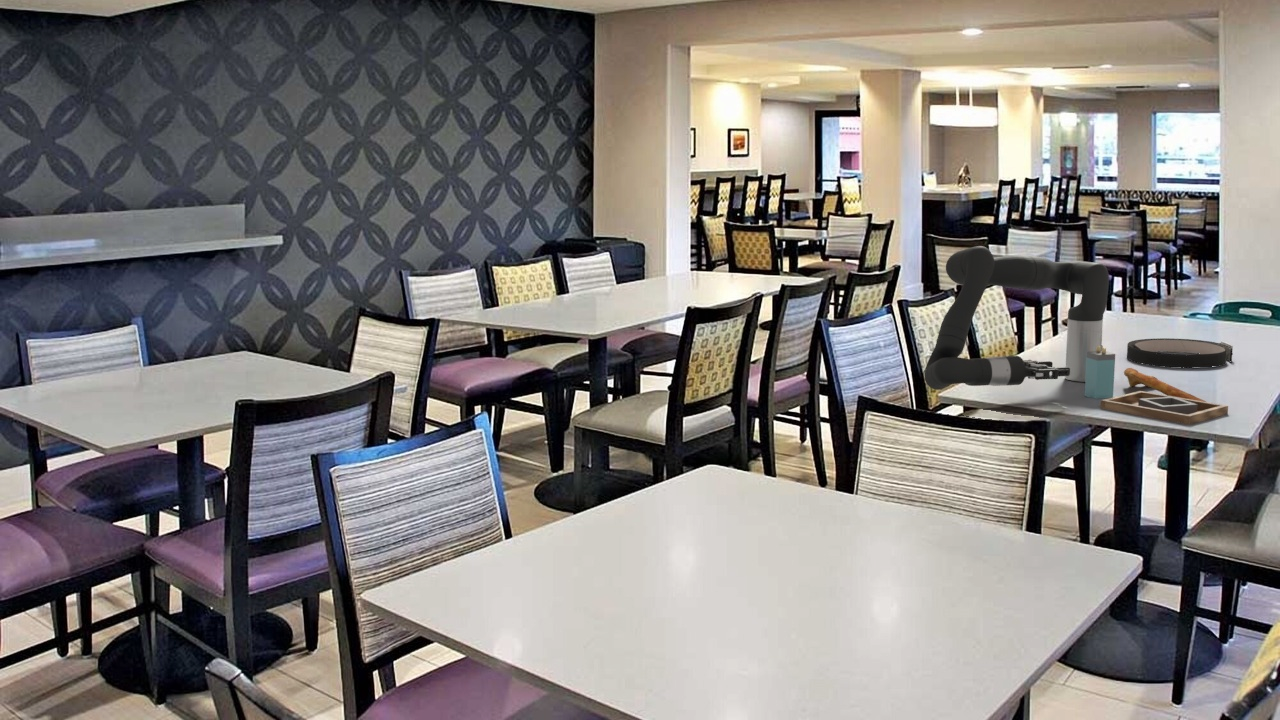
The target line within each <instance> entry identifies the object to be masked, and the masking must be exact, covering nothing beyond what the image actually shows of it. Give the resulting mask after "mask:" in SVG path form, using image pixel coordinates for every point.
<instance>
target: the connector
mask: <svg viewBox="0 0 1280 720" xmlns="http://www.w3.org/2000/svg"><path fill="white" fill-rule="evenodd" d="M1115 365H1116V353H1112V352H1109V351H1107V347H1103V348H1102V351H1101V346H1097V351H1093V352H1087V361H1086V381H1085V383H1084V384H1085V385H1084V386H1085V388H1084V397H1085V396H1087V397H1086V398H1092V399H1095V400H1096V399H1108V398H1113V397H1114V388H1115V387H1114V386H1115V371H1116V370H1115V367H1116V366H1115Z"/></svg>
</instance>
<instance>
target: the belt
mask: <svg viewBox="0 0 1280 720" xmlns="http://www.w3.org/2000/svg"><path fill="white" fill-rule="evenodd" d="M1126 345H1127V348H1126V349H1127V350H1126V358H1127V359H1128V360H1129V359H1130V360H1129V361H1131V360H1132V361H1131V362H1134V361H1135V363H1137V362H1138V364H1141V363H1143V364H1142V365H1146V364H1149V365H1148V366H1152V365H1155V366H1154V367H1160V366H1165V367H1164V368H1171V367H1181V368H1180V369H1193V368H1192V367H1212V366H1219V365H1223V364H1225V363H1226V362H1227V361H1228V360H1229V361H1232V360H1233V355H1234V353H1233V349H1234V348H1233V346H1234V345H1232V344H1230V343H1229V342H1225V341H1220V342H1214V341H1209V340H1201V339H1200V340H1199V339H1189V338H1145V339H1136V340H1131V341H1129V342H1128V343H1127V344H1126ZM1157 351H1168V352H1157ZM1180 352H1186V353H1180ZM1192 353H1200V354H1192ZM1226 359H1228V360H1226ZM1229 361H1228V362H1229ZM1225 365H1226V364H1225ZM1223 366H1224V365H1223ZM1183 367H1184V368H1183ZM1219 367H1220V366H1219ZM1212 368H1213V367H1212Z"/></svg>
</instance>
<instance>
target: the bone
mask: <svg viewBox="0 0 1280 720" xmlns="http://www.w3.org/2000/svg"><path fill="white" fill-rule="evenodd" d="M1123 373H1124V374H1123V375H1124V376H1125V377H1127V381H1128V383H1129V387H1130V386H1131V387H1130V388H1133V387H1132V386H1134V387H1135V386H1138V385H1144V386H1145V387H1147V386H1148V387H1147V388H1152V389H1154V390H1156V391H1158V392H1160V393H1161V394H1162V395H1167V396H1173V397H1179V398H1185V399H1191V400H1197V401H1203V402H1207V401H1206V400H1204V399H1202V398H1200V397H1197V396H1195V395H1193V394H1191V393H1188V392H1186V391H1183V390H1181V389H1179V388H1177V387H1175V386H1172V385H1170V384H1169V383H1166V382H1164V381H1162V380H1160V379H1159V378H1157V377H1155V376H1153V375H1147V374H1144V373H1142V372H1139V371H1138V370H1136V369H1134V368H1132V367H1127V368H1126V369H1124V371H1123Z"/></svg>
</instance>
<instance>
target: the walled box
mask: <svg viewBox="0 0 1280 720" xmlns="http://www.w3.org/2000/svg"><path fill="white" fill-rule="evenodd" d="M1158 397H1173V396H1167V395H1165V394H1162V393H1161V394H1160V393H1155V392H1148V391H1143V390H1137V391H1134V392H1129V393H1127V394H1126V393H1125V394H1122V395H1117V396H1113V398H1103V399H1101V400H1100V409H1102V410H1107V411H1114V412H1118V413H1123V414H1130V415H1135V416H1139V417H1140V416H1141V417H1146V418H1150V419H1156V420H1162V421H1166V422H1173V423H1178V424H1183V425H1188V426H1190V425H1193V424H1197V423H1201V422H1204V421H1207V420H1211V419H1215V418H1218V417H1223V416H1225V415H1228V414H1229V413H1228V412H1229V405H1226V404H1221V403H1216V402H1215V403H1213V402H1208V401H1206V402H1203V401H1197V400H1191V399H1185V398H1179V397H1176V398H1179V399H1182V400H1185V401H1188V402H1192V403H1195V404H1198V409H1197V412H1195V413H1192V414H1188V415H1187V414H1181V413H1176V412H1170V411H1164V410H1159V409H1153V408H1148V407H1142V406H1138V402H1139V399H1142V398H1158Z"/></svg>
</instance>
